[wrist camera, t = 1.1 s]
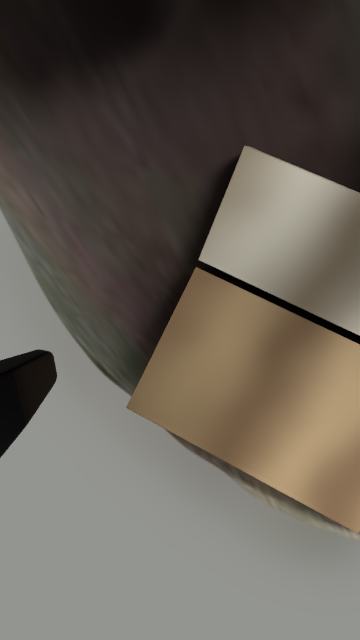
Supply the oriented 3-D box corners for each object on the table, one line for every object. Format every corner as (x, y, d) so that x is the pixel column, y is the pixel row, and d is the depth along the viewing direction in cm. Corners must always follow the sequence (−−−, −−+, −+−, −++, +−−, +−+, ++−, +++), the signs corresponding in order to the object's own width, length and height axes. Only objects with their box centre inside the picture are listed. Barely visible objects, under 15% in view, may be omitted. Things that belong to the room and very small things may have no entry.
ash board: (522, 261, 16) (549, 273, 14) (430, 355, 19) (444, 375, 17) (250, 147, 17) (244, 145, 15) (207, 251, 20) (198, 259, 18)
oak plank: (413, 375, 19) (436, 380, 17) (343, 512, 19) (358, 533, 17) (197, 273, 21) (195, 266, 19) (134, 400, 21) (126, 407, 19)
